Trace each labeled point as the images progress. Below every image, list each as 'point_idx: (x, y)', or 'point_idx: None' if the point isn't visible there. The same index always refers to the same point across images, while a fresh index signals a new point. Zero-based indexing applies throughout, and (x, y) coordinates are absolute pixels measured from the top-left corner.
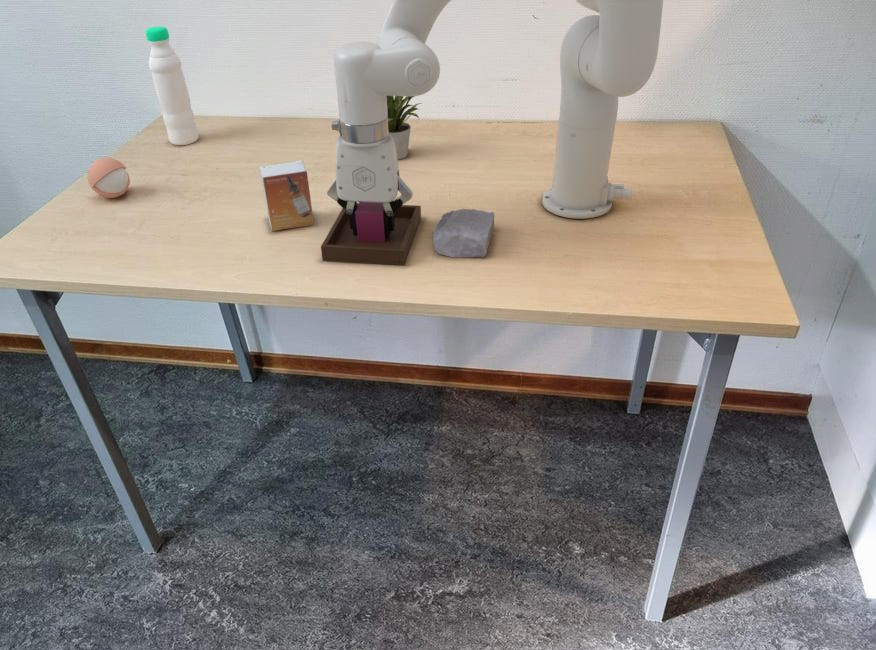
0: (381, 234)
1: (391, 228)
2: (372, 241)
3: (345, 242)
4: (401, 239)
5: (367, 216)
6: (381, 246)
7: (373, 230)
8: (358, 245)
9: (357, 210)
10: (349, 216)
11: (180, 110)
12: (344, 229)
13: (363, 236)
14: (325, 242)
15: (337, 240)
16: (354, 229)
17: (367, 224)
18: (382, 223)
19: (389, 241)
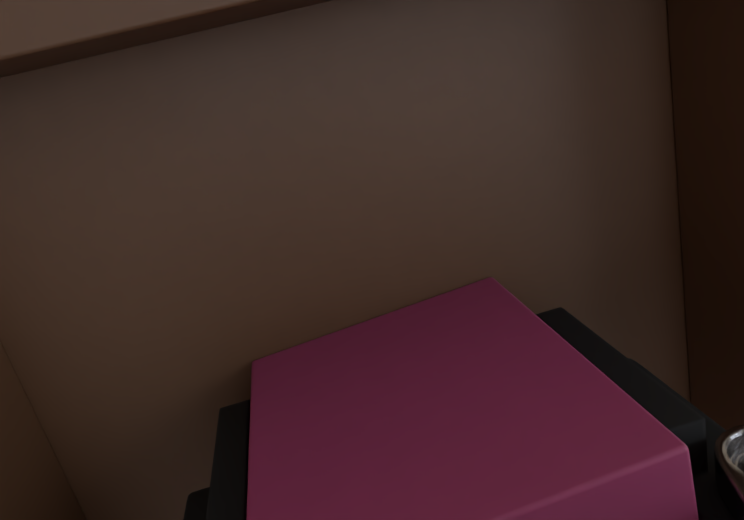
0: (280, 391)
1: (200, 500)
2: (365, 324)
3: (592, 224)
4: (129, 458)
5: (476, 474)
6: (244, 282)
7: (366, 385)
8: (459, 217)
9: (671, 510)
10: (717, 431)
11: None
12: None
13: (456, 316)
14: None
15: (670, 229)
16: (575, 337)
17: (446, 400)
18: (260, 478)
19: (218, 388)
